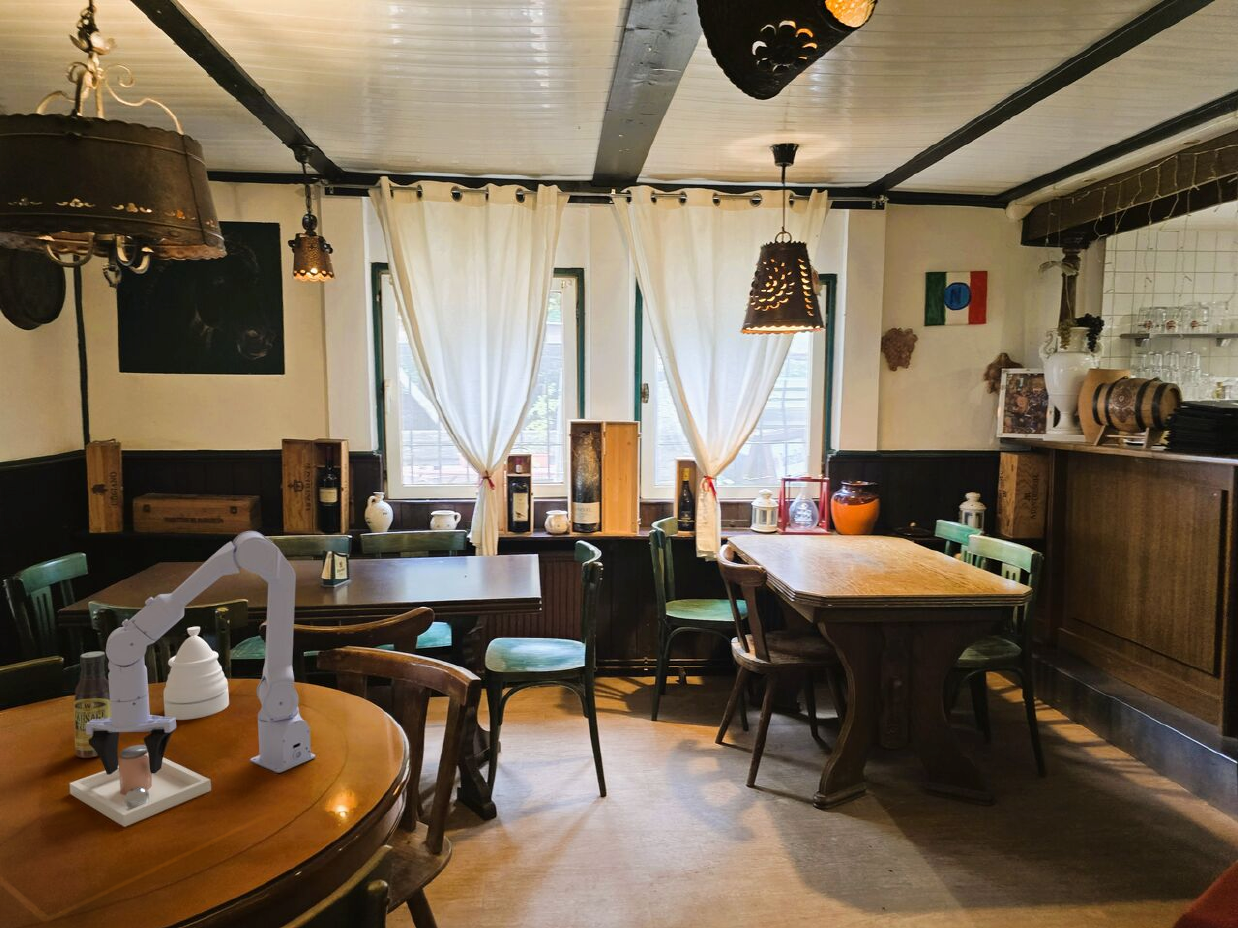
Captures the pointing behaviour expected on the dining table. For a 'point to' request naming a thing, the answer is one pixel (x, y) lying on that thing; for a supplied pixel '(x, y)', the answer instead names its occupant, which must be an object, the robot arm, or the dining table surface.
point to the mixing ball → (136, 797)
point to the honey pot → (195, 681)
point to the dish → (164, 793)
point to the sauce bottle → (90, 700)
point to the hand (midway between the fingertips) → (134, 771)
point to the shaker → (134, 768)
